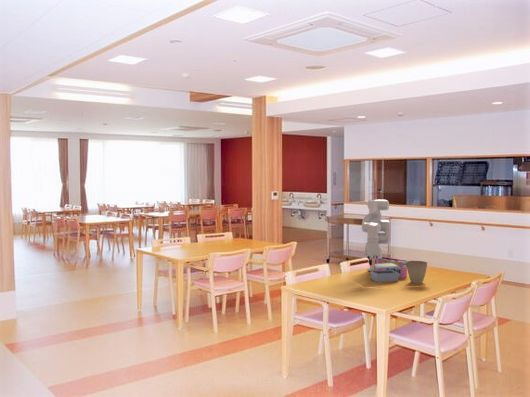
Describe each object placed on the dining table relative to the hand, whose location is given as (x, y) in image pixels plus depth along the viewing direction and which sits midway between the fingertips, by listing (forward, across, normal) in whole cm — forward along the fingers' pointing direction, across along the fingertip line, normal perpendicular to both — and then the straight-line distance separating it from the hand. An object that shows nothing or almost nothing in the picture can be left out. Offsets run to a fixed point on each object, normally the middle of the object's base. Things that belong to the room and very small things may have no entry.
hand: (372, 264), depth 378 cm
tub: (+13, -10, 0) cm, 16 cm away
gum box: (+13, -24, -15) cm, 31 cm away
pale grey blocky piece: (+2, -9, 0) cm, 9 cm away
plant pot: (+13, -29, +13) cm, 35 cm away
